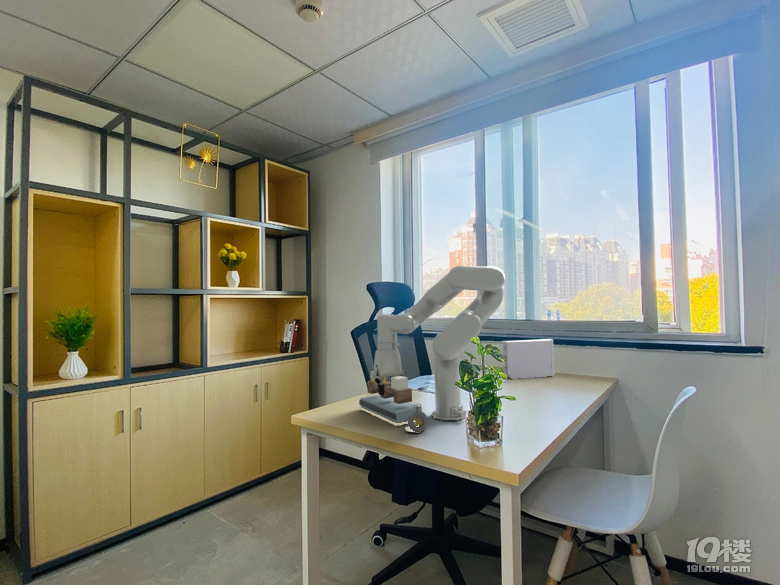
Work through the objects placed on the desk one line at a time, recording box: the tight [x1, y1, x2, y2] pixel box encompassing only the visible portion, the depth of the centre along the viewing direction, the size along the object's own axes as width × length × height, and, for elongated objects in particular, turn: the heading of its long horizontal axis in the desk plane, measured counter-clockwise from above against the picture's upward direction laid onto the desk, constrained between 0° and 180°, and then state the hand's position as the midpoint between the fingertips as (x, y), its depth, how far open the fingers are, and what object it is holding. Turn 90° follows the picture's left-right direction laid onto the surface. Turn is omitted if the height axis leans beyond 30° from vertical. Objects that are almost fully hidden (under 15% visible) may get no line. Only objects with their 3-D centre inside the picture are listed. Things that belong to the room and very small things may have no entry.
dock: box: [358, 394, 423, 423], centre depth 146 cm, size 26×12×5 cm, turn 33°
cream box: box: [390, 375, 409, 390], centre depth 141 cm, size 4×4×4 cm
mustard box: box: [370, 370, 387, 383], centre depth 153 cm, size 4×4×4 cm
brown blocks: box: [367, 380, 413, 404], centre depth 147 cm, size 22×6×4 cm, turn 33°
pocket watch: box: [407, 403, 429, 433], centre depth 127 cm, size 8×8×10 cm
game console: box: [502, 338, 555, 380], centre depth 209 cm, size 6×27×20 cm, turn 98°
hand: (388, 393), depth 147 cm, fingers closed on brown blocks, 6 cm apart
